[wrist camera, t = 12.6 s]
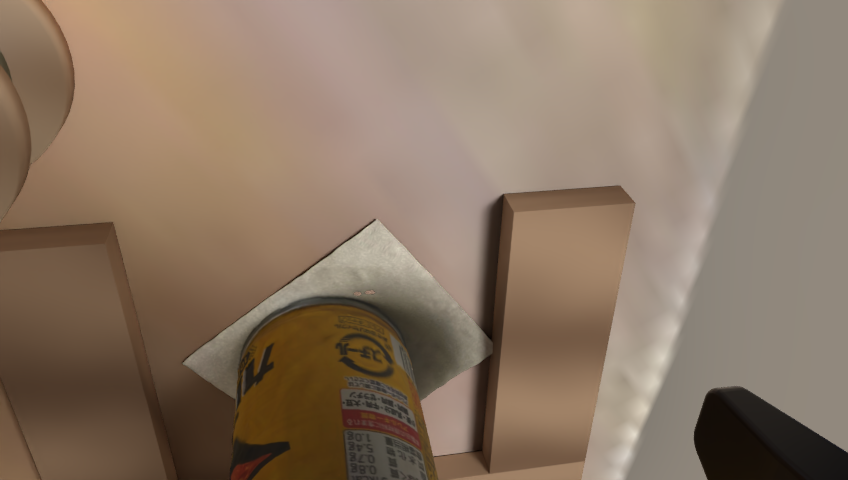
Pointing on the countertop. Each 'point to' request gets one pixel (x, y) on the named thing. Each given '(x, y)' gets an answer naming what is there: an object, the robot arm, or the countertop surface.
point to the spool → (30, 90)
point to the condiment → (342, 367)
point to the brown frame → (458, 474)
